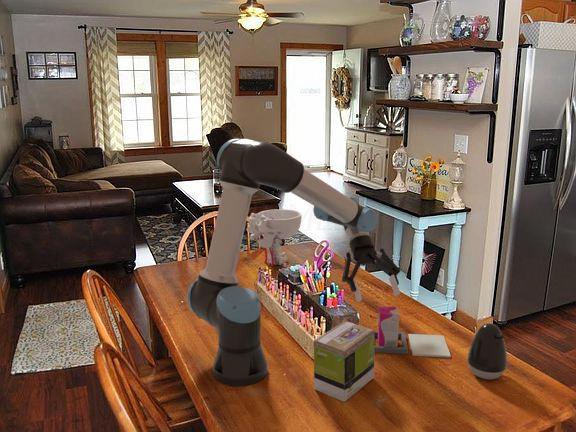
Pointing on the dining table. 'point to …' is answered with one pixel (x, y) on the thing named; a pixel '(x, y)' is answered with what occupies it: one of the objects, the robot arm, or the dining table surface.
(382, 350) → the socket frame
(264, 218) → the white sculpted pedestal bowl
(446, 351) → the white flat square tile
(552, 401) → the dining table surface
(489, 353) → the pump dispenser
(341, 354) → the tea box
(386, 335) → the supplement box
